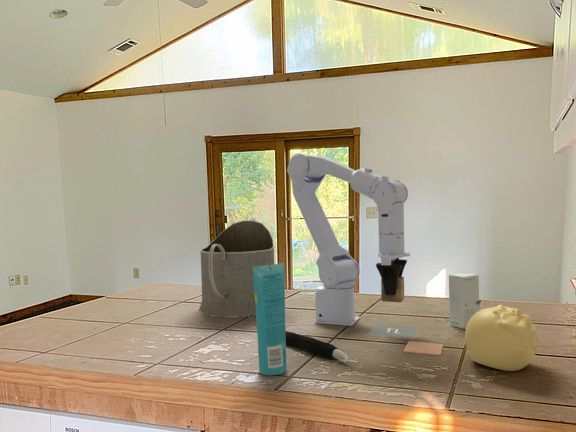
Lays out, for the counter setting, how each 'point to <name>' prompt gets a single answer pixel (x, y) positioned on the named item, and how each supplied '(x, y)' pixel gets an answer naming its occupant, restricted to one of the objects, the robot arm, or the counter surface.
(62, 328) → the counter surface
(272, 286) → the tube
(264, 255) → the grey fabric basket
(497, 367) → the sculpture
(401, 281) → the walnut block
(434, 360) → the counter surface
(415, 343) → the pad
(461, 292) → the skincare box
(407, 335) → the tile
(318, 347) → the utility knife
